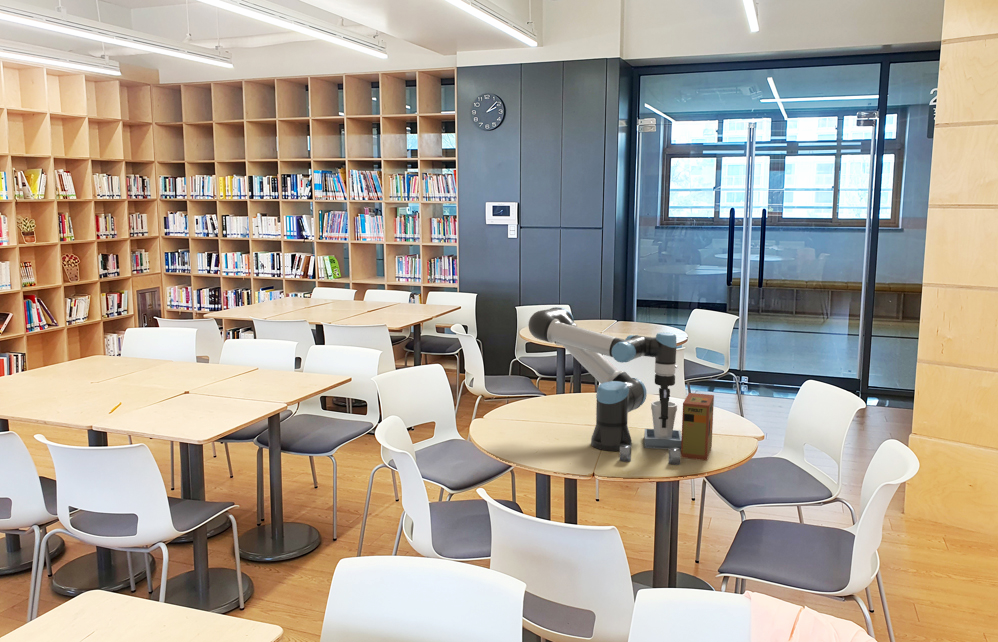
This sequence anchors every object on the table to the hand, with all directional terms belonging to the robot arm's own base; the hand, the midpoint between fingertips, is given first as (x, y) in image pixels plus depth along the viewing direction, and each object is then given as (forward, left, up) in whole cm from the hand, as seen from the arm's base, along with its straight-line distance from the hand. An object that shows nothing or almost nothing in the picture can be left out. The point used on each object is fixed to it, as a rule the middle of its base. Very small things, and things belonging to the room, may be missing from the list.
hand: (662, 431), depth 285 cm
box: (+12, -8, -5) cm, 15 cm away
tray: (0, 0, -5) cm, 5 cm away
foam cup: (0, 0, -2) cm, 2 cm away
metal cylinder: (-14, -23, -5) cm, 27 cm away
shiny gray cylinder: (+3, -23, -5) cm, 23 cm away
